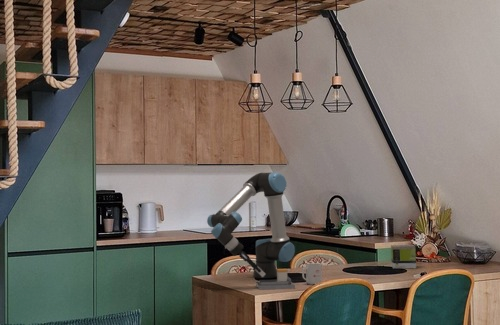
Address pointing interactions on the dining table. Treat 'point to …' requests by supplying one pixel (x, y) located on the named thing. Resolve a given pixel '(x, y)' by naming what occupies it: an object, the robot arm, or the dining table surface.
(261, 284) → the grey tray
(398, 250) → the tea box
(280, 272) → the grey orange-topped container
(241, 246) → the robot arm
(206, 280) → the dining table surface
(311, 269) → the mug
